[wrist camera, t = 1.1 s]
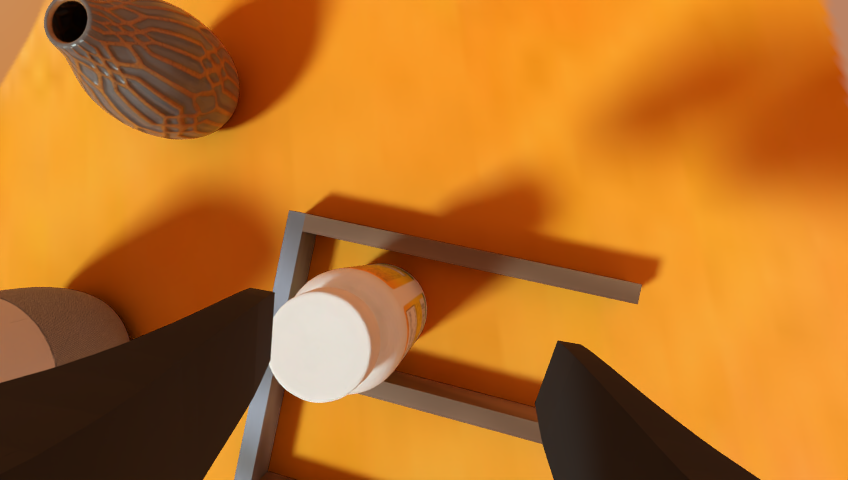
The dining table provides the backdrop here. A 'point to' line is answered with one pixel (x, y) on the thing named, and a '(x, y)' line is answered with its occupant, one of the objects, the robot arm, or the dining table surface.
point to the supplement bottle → (346, 331)
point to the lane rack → (398, 386)
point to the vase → (147, 64)
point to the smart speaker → (53, 329)
